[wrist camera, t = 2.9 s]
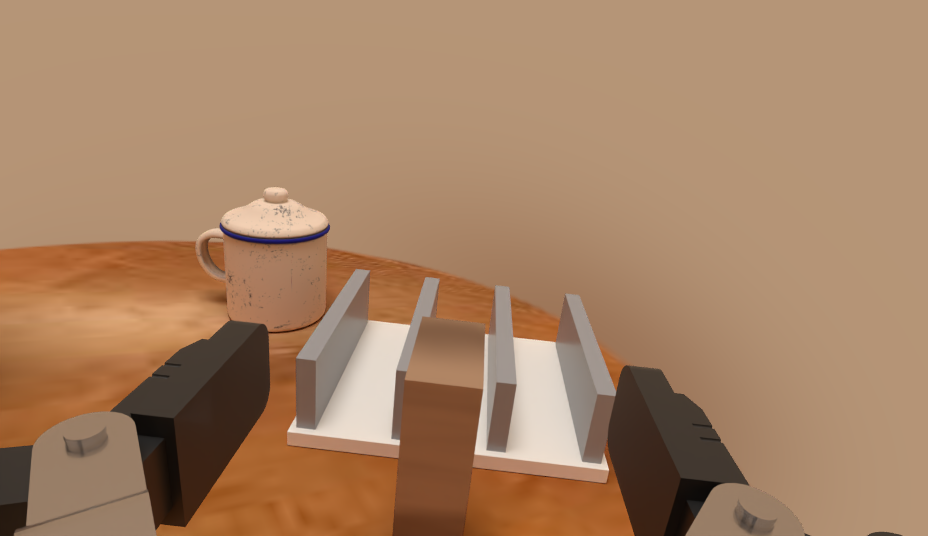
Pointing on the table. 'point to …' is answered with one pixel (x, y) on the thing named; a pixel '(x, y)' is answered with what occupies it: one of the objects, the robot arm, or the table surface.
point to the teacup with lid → (271, 262)
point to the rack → (504, 392)
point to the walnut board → (439, 428)
